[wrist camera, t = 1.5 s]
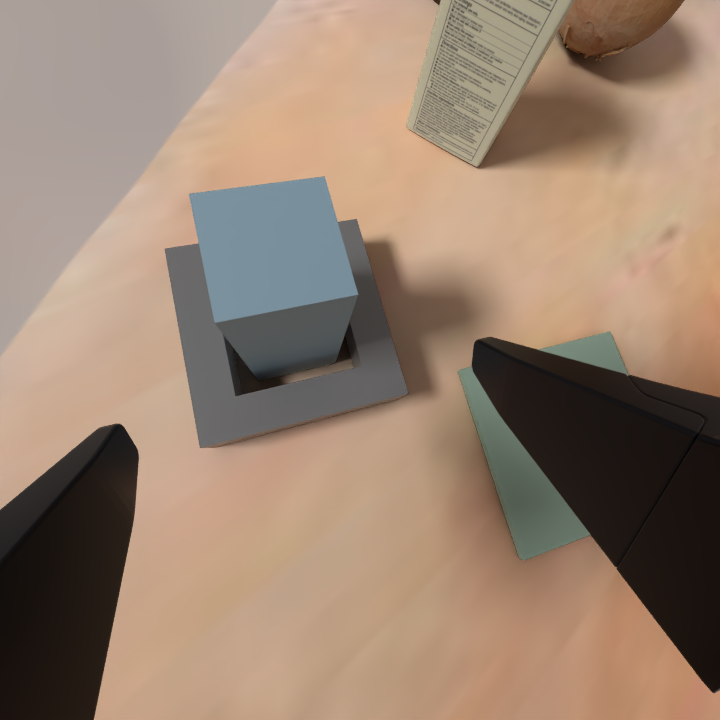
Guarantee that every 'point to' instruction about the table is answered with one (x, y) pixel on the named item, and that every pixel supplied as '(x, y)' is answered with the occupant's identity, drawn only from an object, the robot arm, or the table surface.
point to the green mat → (517, 468)
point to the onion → (613, 24)
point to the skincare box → (480, 69)
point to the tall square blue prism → (276, 273)
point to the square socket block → (290, 401)
